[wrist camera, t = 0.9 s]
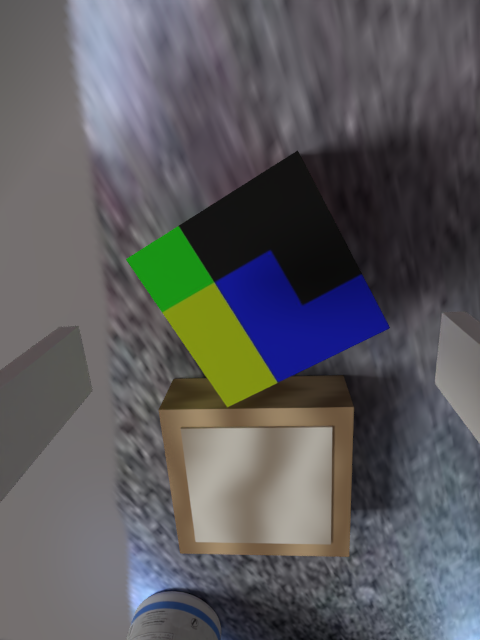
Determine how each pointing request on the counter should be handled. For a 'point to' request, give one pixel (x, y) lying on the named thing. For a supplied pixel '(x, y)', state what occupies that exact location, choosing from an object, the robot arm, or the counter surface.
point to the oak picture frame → (261, 467)
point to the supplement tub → (174, 619)
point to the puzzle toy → (260, 283)
